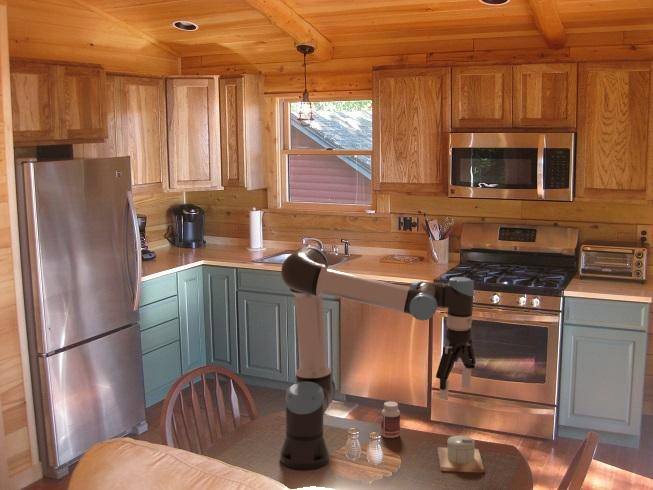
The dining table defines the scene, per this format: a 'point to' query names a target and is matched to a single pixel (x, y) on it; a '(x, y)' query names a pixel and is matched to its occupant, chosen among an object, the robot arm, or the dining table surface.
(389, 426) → the pill bottle
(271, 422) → the dining table surface
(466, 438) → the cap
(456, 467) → the stud board
